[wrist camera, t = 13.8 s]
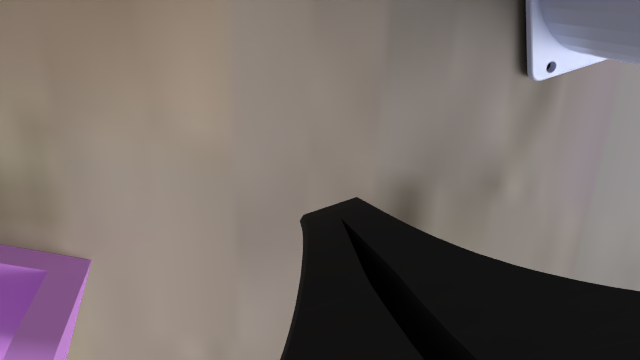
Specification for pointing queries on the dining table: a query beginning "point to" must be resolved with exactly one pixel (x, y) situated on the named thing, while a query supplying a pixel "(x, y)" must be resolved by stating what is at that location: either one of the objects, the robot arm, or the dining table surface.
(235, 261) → the dining table surface
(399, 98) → the dining table surface
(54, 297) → the bracket
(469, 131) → the dining table surface
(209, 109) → the dining table surface
